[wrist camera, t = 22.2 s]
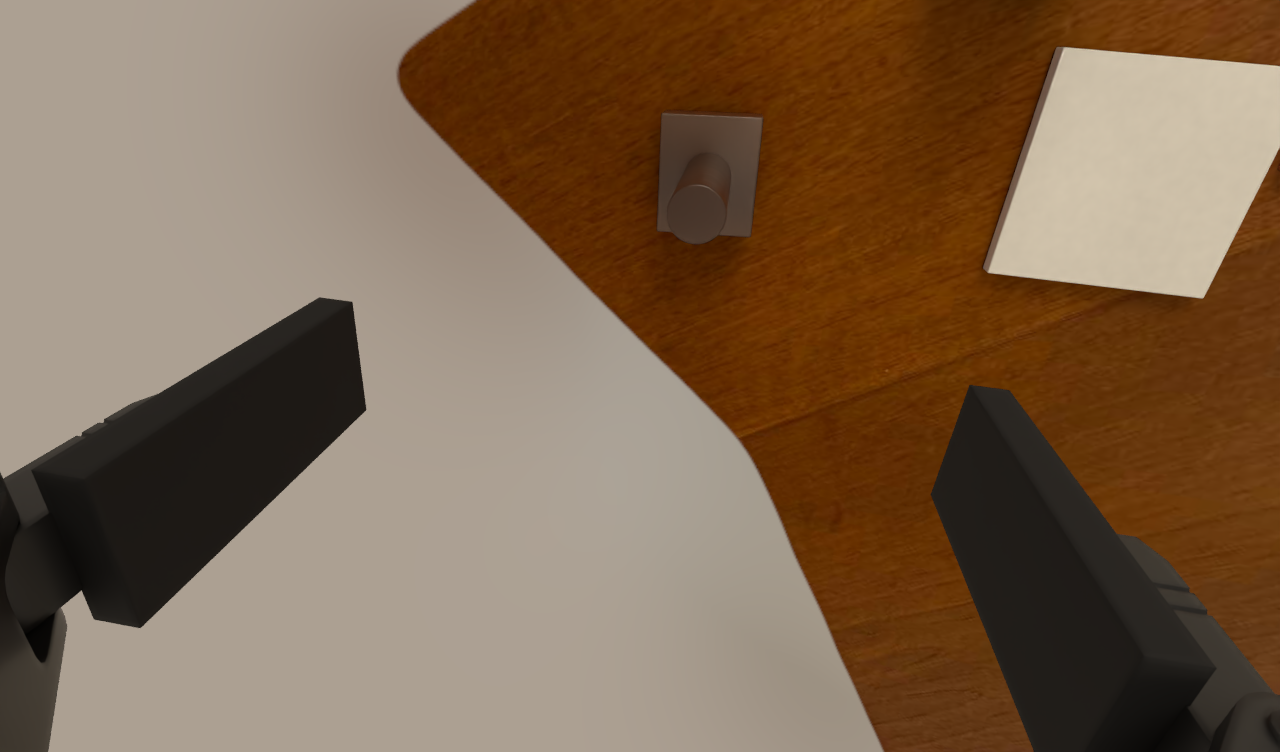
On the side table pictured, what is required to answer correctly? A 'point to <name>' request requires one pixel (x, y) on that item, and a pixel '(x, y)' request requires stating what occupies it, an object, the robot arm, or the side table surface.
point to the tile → (1137, 170)
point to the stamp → (708, 174)
